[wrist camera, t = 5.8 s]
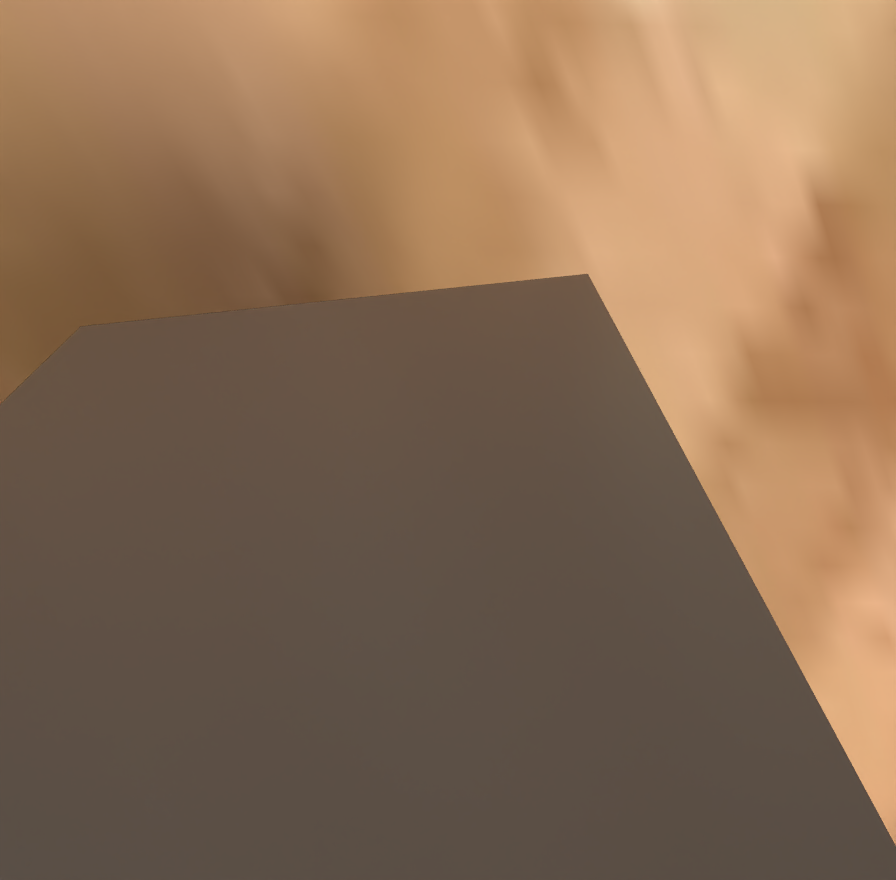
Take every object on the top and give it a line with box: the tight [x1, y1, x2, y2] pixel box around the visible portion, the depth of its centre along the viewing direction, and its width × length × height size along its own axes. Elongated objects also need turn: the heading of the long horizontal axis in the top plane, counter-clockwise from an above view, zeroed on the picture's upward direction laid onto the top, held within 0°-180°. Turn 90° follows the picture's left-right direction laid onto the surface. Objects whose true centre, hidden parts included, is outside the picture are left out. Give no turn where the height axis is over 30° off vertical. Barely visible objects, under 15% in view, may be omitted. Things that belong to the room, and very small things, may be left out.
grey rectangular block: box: [0, 274, 896, 880], centre depth 10 cm, size 11×7×9 cm, turn 6°
